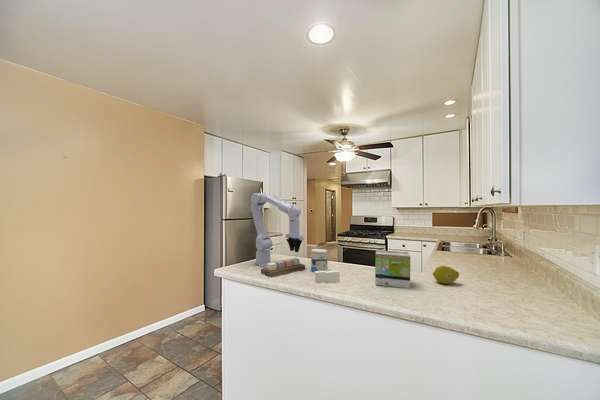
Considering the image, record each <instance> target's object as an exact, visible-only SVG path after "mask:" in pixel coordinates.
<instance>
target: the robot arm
mask: <svg viewBox="0 0 600 400" xmlns="http://www.w3.org/2000/svg"><path fill="white" fill-rule="evenodd" d="M266 203H269V204H272V205H273V206H276V207H277V208H278V210H279V211H281V212H283V213H285V214H287V216H288V223H289V224H288V225H289V228H288V232H289V233H286V234H285V238H286V242H287V244H288V246H289V250H290V252H293V251H294V252H295V253H299V250H300V247H301V244H302V243H303V241H304V239H305V238H304V236H302V235H301V234H300V215H301V213H302V211H301V209H300V207H298V206H294V205H293V204H290V203H288V201H287V200H282V201H280V200H278V199H277V198H275V197H273V196H271V195H270V194H268V193H265V192H262V193H261V192H260V193H259V192H253V193H252V195H251V197H250V211H251V214H252V218H253V222H254V226H255V230H256V234H257V236H256V238H255V247H256V252H255V262H254V264H255V265H257V266H259V267H261V268H262V267H263V268H264V267H267V266H266V264H267V263H271V250H272V249H271V248H272V246H273V241H272V239H271V237H270V235H269V234H267V233H268V232H267V230H266V226H265V222H264V219H263V215H262V211H261V209H262V207H263V206H264V205H265V204H266Z"/></svg>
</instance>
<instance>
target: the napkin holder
mask: <svg viewBox="0 0 600 400" xmlns="http://www.w3.org/2000/svg"><path fill="white" fill-rule="evenodd" d="M340 275H341V273H340V271H339V270H327V271H315V272H314V282H315V283H316V284H317V283H320V282H321V283H325V284H328V283H340V279H341V278H340V277H341V276H340Z"/></svg>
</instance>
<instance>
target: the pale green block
mask: <svg viewBox="0 0 600 400" xmlns="http://www.w3.org/2000/svg"><path fill="white" fill-rule="evenodd" d="M289 260H292V265H299V264H301V263H300V258H297V257H293V258H289Z"/></svg>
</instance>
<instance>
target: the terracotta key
mask: <svg viewBox="0 0 600 400" xmlns="http://www.w3.org/2000/svg"><path fill="white" fill-rule="evenodd" d="M281 261H283V262H285V267H290V266H292V260H290V258H287V259H283V260H281Z"/></svg>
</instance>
